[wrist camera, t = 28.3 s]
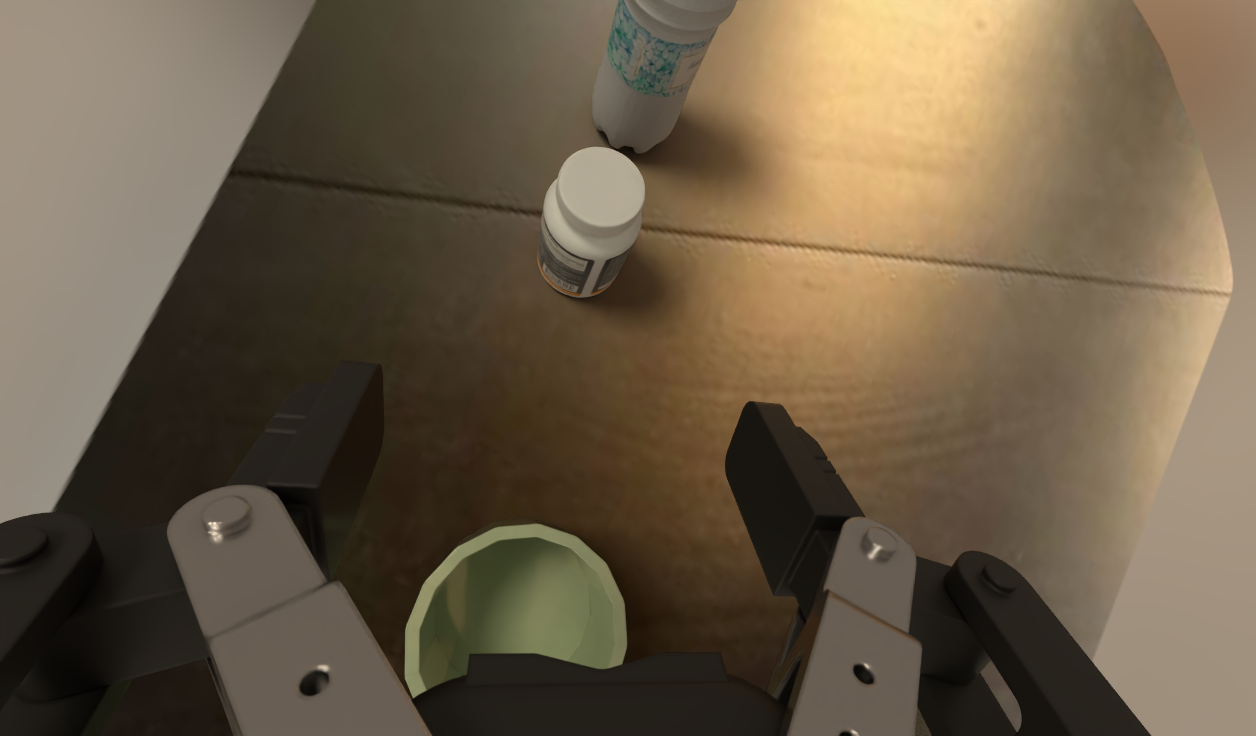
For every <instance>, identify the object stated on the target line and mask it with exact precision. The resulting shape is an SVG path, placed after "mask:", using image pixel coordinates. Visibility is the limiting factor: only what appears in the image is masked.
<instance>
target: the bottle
mask: <svg viewBox="0 0 1256 736" xmlns="http://www.w3.org/2000/svg"><path fill="white" fill-rule="evenodd" d="M736 1H737V0H618V3H617V8H616V12H615V16H614V20H613V24H612V28H611V32H610V36H609V40H608V45H607V49H606V52H605V55H604V58H603V60H602V63H601V66H600V69H599V72H598V75H597V78H596V81H595V85H594V90H593V96H592V116H593V121H594V124H595V127H596V128H597V129H598V130H600V131H604V132H605V134H606V135H607V137H608V140H609V143H610V145H611V146H612V147H614V148H616V149H619V148H620V147H622V146H629V147H633V148H634V151H635V152H636V153H644V152H647V151H648V150H650V149H651V148H652V147H653V146H655V145H656V144H657V143H660V142H662V141H664V140H665V139H666V138H667V137H668V136H669V134H670V133H671V131H672V130H673V128H674V126H675V124H676V122H677V119H678V117H679V115H680V112H681V110H682V107H683V104H684V102H685V99H686V96H687V93H688V90H689V88H690V85H691V83H692V81H693V79H694V77H695V75H696V73H697V71H698V69H699V66H700V64H701V62H702V60H703V58H704V56H705V54H706V52H707V49H708V47H709V45H710V43H711V41H712V39H713V37H714V35H715V32H716V30H717V28H718V26H719V25H720V24H721V23H722V22H724V21H725V20H726V19H727V18H728V17H729V15H730V14H731V13H732V11H733V9H734V7H735V4H736Z"/></svg>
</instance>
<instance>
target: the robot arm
mask: <svg viewBox="0 0 1256 736" xmlns="http://www.w3.org/2000/svg"><path fill="white" fill-rule="evenodd" d="M383 435H384V397H383V371H382V366H381V365H380V364H374V363H364V362H354V361H344V360H341V361H339V362H338V364H337V366H336V367H335V369H334V371H333V372H332V374H331V376H330V377H329V379H328V381H327V382H326V384H324V383H313V382H308V383H306V384H305V385H303V386H301V387H300V388H298V389H297V390H295V391H294V392H292V393H291V394H289V395H287V396H286V397H285V399H284V400H283V402H282V403H281V405H280V406H279V408H278V409H277V411H276V412H275V413H274V418H271V419H270V421H269V422H268V424H267V425H266V427H265V428H264V432H262V433H261V434H260V435H259V437H258V438H257V440H256V441H255V443H254V444H253V446H252V447H251V449H250V450H249V452H248V453H247V455H246V456H245V457H244V459H243V460H242V462H241V463H240V465H239V466H238V468H237V469H236V471H235V472H234V474H233V475H232V476H231V478H230V479H229V481H228V482H227V484H226V485H225V487H222V488H218V489H215V490H212V491H209V492H206V493H204V494H202V495H200V496H198V497H196V498H194V499H193V500H191V501H189V502H188V503H186V504H185V505H184V506H183V507H181V508H180V509H179V510H178V511H177V512H176V513H175V515H174V516H173V517H172V519H171V520H170V522H166V523H163V524H158V525H153V526H148V527H142V528H137V529H131V530H125V531H119V532H114V533H108V534H102V535H96V536H95V535H94V532H93V530H92V527H91V525H90V524H89V523H88V522H87V521H86V520H85V519H83V518H82V517H79V516H76V515H73V514H68V513H58V512H52V513H40V514H33V515H28V516H23V517H19V518H16V519H12V520H9V521H6V522H3V523H1V524H0V736H102V734H103V732H104V730H105V728H106V727H107V725H108V723H109V721H110V719H111V717H112V716H113V714H114V712H115V710H116V708H117V707H118V705H119V703H120V701H121V699H122V698H123V696H124V694H125V692H126V690H127V689H128V687H129V685H130V683H131V681H132V679H133V678H136V677H139V676H143V675H147V674H150V673H154V672H158V671H161V670H165V669H169V668H172V667H176V666H180V665H183V664H187V663H191V662H194V661H198V660H202V659H205V658H206V660H207V663H208V666H209V668H210V671H211V674H212V677H213V679H214V682H215V685H216V688H217V690H218V693H219V696H220V699H221V701H222V704H223V707H224V710H225V713H226V715H227V718H228V721H229V724H230V726H231V729H232V732H233V735H234V736H915V724H916V713H917V706H918V708H919V710H920V712H921V714H922V716H923V718H924V720H925V722H926V724H927V726H928V728H929V730H930V733H931V735H932V736H1151V735H1150V734H1149V733H1148V731H1147V730H1146V729H1145V727H1144V726H1143V725H1142V724H1141V722H1140V721H1139V720H1138V719H1137V717H1136V716H1135V715H1134V714H1133V712H1132V711H1131V710H1130V709H1129V708H1128V706H1127V705H1126V704H1125V702H1124V701H1123V700H1122V699H1121V697H1120V696H1119V695H1118V694H1117V692H1116V691H1115V690H1114V689H1113V687H1112V686H1111V685H1110V684H1109V682H1108V681H1107V680H1106V679H1105V677H1104V676H1103V675H1102V674H1101V672H1100V671H1099V670H1098V669H1097V667H1096V666H1095V665H1094V664H1093V662H1092V661H1091V660H1090V659H1089V657H1088V656H1087V655H1086V654H1085V652H1084V651H1083V650H1082V649H1081V647H1080V646H1079V645H1078V644H1077V642H1076V641H1075V640H1074V639H1073V637H1072V636H1071V635H1070V634H1069V632H1068V631H1067V630H1066V629H1065V627H1064V626H1063V625H1062V624H1061V622H1060V621H1059V620H1058V619H1057V617H1056V616H1055V615H1054V614H1053V612H1052V611H1051V610H1050V609H1049V607H1048V606H1047V605H1046V604H1045V602H1044V601H1043V600H1042V599H1041V597H1040V596H1039V595H1038V594H1037V592H1036V591H1035V590H1034V589H1033V587H1032V586H1031V585H1030V584H1029V583H1028V581H1027V580H1026V579H1025V578H1024V577H1023V576H1022V575H1021V574H1020V573H1019V572H1017V571H1016V570H1015V569H1014V568H1012V567H1011V566H1010V565H1008V564H1007V563H1005V562H1003V561H1002V560H1000V559H998V558H996V557H994V556H991V555H989V554H986V553H983V552H978V551H966V552H964V553H962V554H961V555H960V556H959V557H958V559H957V560H956V561H955V563H954V564H953V565H952V567H951V566H947V565H944V564H941V563H938V562H934V561H931V560H928V559H924V558H921V557H918V556H915V553H914V551H913V549H912V548H911V546H910V544H909V543H908V542H907V541H906V540H905V539H904V538H903V537H902V536H901V535H900V534H899V533H898V532H896V531H895V530H894V529H892V528H891V527H889V526H887V525H885V524H884V523H882V522H879V521H877V520H874V519H871V518H866V517H865V515H864V514H863V512H862V511H861V509H860V507H859V506H858V504H857V503H856V501H855V500H854V498H853V497H852V495H851V493H850V492H849V490H848V489H847V487H846V486H845V484H844V483H843V481H842V479H841V478H840V476H839V475H838V474H836V470H835V469H834V467H833V465H832V464H831V462H830V461H827V456H826V455H825V453H824V451H823V450H822V448H821V447H820V445H819V444H818V442H817V441H816V440H815V439H814V438H812V437H811V436H810V435H809V434H808V433H807V432H805V431H804V430H803V429H802V428H801V427H796V426H795V425H794V423H793V421H792V420H791V418H790V416H789V415H788V413H787V412H786V410H785V408H784V407H783V406H782V405H781V404H774V403H764V402H754V401H749V402H748V403H746V405H745V406H744V408H743V410H742V413H741V416H740V418H739V421H738V424H737V426H736V429H735V432H734V434H733V437H732V440H731V442H730V445H729V448H728V451H727V454H726V460H725V471H726V477H727V480H728V482H729V485H730V487H731V490H732V492H733V495H734V497H735V500H736V502H737V505H738V507H739V510H740V512H741V515H742V517H743V520H744V523H745V525H746V528H747V530H748V533H749V535H750V538H751V540H752V543H753V545H754V548H755V550H756V553H757V555H758V558H759V560H760V563H761V565H762V568H763V570H764V573H765V575H766V578H767V581H768V583H769V586H770V588H771V591H772V593H773V596H795V597H796V599H797V601H798V604H799V605H798V607H797V608H796V610H795V612H794V614H793V616H792V619H791V622H790V625H789V627H788V630H787V633H786V636H785V639H784V642H783V644H782V647H781V650H780V653H779V656H778V659H777V662H776V664H775V667H774V670H773V673H772V676H771V679H770V681H769V684H768V686H767V689H766V691H764V690H763V689H761V688H759V687H758V686H756V685H754V684H752V683H750V682H748V681H746V680H744V679H741V678H739V677H736V676H734V675H731V674H727V673H726V670H725V667H724V663H723V660H722V656H721V652H663V653H660V654H656V655H653V656H649V657H646V658H642V659H639V660H635V661H632V662H628V663H625V664H621V665H618V666H615V667H611V668H607V669H597V668H593V667H589V666H585V665H581V664H577V663H573V662H569V661H565V660H561V659H557V658H553V657H549V656H545V655H541V654H537V653H482V654H469V660H468V668H467V675H464V676H460V677H457V678H454V679H451V680H448V681H446V682H443V683H441V684H438V685H436V686H434V687H432V688H430V689H428V690H426V691H424V692H423V693H421V694H419V695H417V696H416V697H414V698H413V699H412V700H411V699H410V697H409V696H408V694H407V692H406V691H405V689H404V687H403V686H402V684H401V682H400V681H399V679H398V677H397V676H396V674H395V672H394V670H393V669H392V667H391V665H390V664H389V662H388V660H387V659H386V657H385V655H384V654H383V652H382V650H381V648H380V647H379V645H378V643H377V642H376V640H375V638H374V637H373V635H372V633H371V632H370V630H369V628H368V627H367V625H366V623H365V621H364V620H363V618H362V616H361V615H360V613H359V611H358V610H357V608H356V606H355V605H354V603H353V601H352V600H351V598H350V596H349V594H348V593H347V591H346V590H345V588H344V587H343V585H342V584H341V583H340V582H339V581H338V580H337V579H335V578H334V579H333V576H334V573H335V571H336V568H337V566H338V563H339V560H340V558H341V555H342V552H343V550H344V547H345V544H346V542H347V539H348V536H349V534H350V531H351V529H352V526H353V523H354V521H355V518H356V515H357V513H358V510H359V507H360V505H361V502H362V499H363V497H364V494H365V491H366V489H367V486H368V484H369V481H370V478H371V476H372V473H373V470H374V468H375V465H376V462H377V460H378V457H379V454H380V451H381V447H382V442H383ZM991 660H992V662H993V663H994V665H995V666H996V668H997V670H998V671H999V673H1000V674H1001V676H1002V677H1003V679H1004V680H1005V682H1006V684H1007V685H1008V687H1009V688H1010V690H1011V691H1012V693H1013V694H1014V696H1015V698H1016V699H1017V701H1018V704H1019V706H1020V710H1021V715H1022V723H1021V727H1020V729H1019V731H1018V732H1016V730H1015V729H1014V727H1013V726H1012V724H1011V722H1010V721H1009V719H1008V717H1007V716H1006V714H1005V712H1004V711H1003V709H1002V708H1001V706H1000V704H999V703H998V701H997V699H996V698H995V696H994V695H993V693H992V691H991V690H990V688H989V686H988V685H987V683H986V681H985V680H984V678H983V677H982V675H981V673H980V672H981V671H982V670H983V669H984V668H985V666H986V665H987V664H988V663H989V662H990V661H991Z"/></svg>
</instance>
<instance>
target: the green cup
mask: <svg viewBox="0 0 1256 736" xmlns="http://www.w3.org/2000/svg"><path fill="white" fill-rule="evenodd" d="M626 649H627V630H626V615H625V603H624V599H623V597H622V595H621V593H620V591H619V588H618V586H617V584H616V582H615V580H614V578H613V576H612V573H611V571H610V569H609V567H608V565H607V564H606V562H605V561H604V560H602V559H601V558H600V557H599V556H598V555H597V554H596V553H595V552H594V551H593V550H591V549H590V548H589V547H588V546H587V545H586V544H585V543H584V542H583V541H581V540H580V539H579V538H578V537H576V536H575V535H573V534H570V533H568V532H566V531H564V530H562V529H560V528H557V527H554V526H551V525H548V524H545V523H542V522H539V521H536V520H533V519H529V518H527V519H512V520H503V521H495V522H493V523H491V524H489V525H487V526H485V527H483V528H481V529H479V530H477V531H475V532H473V533H471V534H469V535H467V536H465V538H463V539H462V540H461V541H460V542H459V544H458V545H457V546H456V547H455V548H454V549H453V550H452V551H451V552H450V553H449V554H448V556H447V557H446V558H445V559H444V560H443V561H442V562H441V563H440V564H439V566H438V567H437V568H436V569H435V570H434V571H433V573H432V574H431V575H430V576H429V577H428V579H427V580H426V581H425V583H424V584H423V586H422V588H421V591H420V593H419V596H418V598H417V601H416V603H415V606H414V608H413V611H412V613H411V616H410V618H409V621H408V623H407V626H406V630H405V680H406V682H407V684H408V687H409V689H410V692H411V694H412V696H413V698H414V697H416V696H417V695H419V694H421V693H423V692H424V691H426V690H428V689H430V688H432V687H434V686H436V685H438V684H441V683H443V682H446V681H448V680H451V679H454V678H457V677H460V676H464V675H467V668H468V660H469V654H482V653H537V654H541V655H545V656H549V657H553V658H557V659H561V660H565V661H569V662H573V663H577V664H581V665H585V666H589V667H593V668H597V669H607V668H611V667H615V666H618V665H621V664H622V663H623V660H624V656H625V653H626Z"/></svg>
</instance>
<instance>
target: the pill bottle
mask: <svg viewBox="0 0 1256 736" xmlns="http://www.w3.org/2000/svg"><path fill="white" fill-rule="evenodd" d="M644 200H645V184H644V180H643V177H642V175H641V173H640V171H639V170H638V168H637V167H636V166H635V164H634V163H633V162H632V161H631V160H630V159H629V158H627V157H626V156H625V155H623V154H621V153H620V152H618V151H615V150H613V149H609V148H604V147H589V148H585V149H582V150H579V151H577V152H576V153H574V154H572V155H571V156H570V157H569V158H568V159H567V160H566V161H565V163H564V164H563V166H562V168H561V170H560V172H559V176H558V178H557V179H556V180H555V181H554V182H553V183H552V185H551V186H550V188H549V189H548V192H547V194H546V196H545V200H544V206H543V212H542V220H541V227H540V233H539V240H538V248H537V261H538V265H539V268H540V271H541V273H542V275H543V277H544V278H545V280H546V281H547V282H548V283H549V284H550V285H551V286H552V287H553V288H555V289H556V290H558V291H559V292H561V293H563V294H566V295H569V296H572V297H580V298H581V297H590V296H594V295H596V294H599V293H601V292H602V291H604V290H605V289H607V288H608V287H609V286H610V285H611V284H612V282H613V281H614V279H615V278H616V276H617V275H618V273H619V271H620V269H621V268H622V266H623V264H624V262H625V260H626V258H627V256H628V254H629V252H630V250H631V249H632V247H633V245H634V243H635V241H636V239H637V237H638V235H639V233H640V228H641V221H642V215H641V209H642V206H643V204H644Z"/></svg>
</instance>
